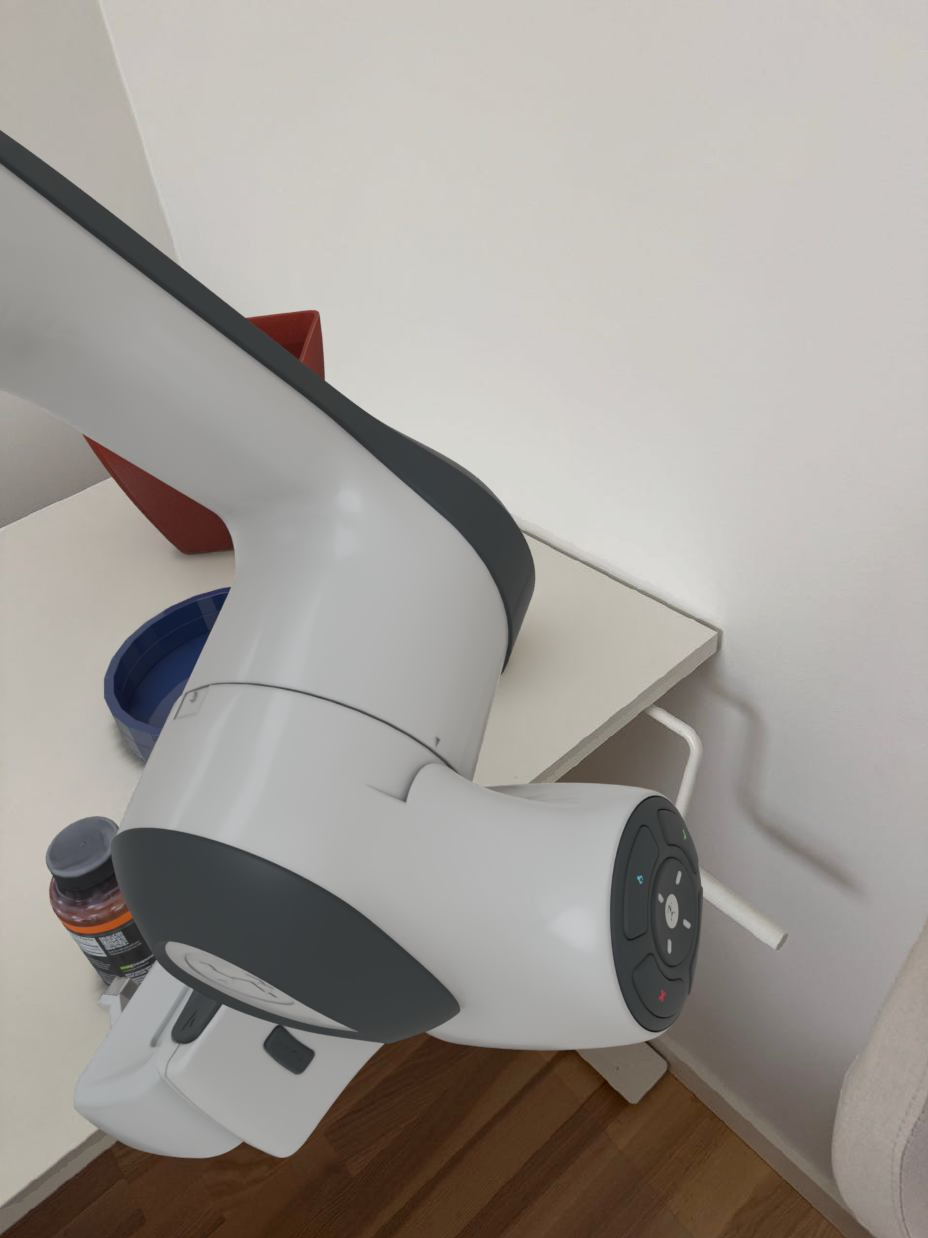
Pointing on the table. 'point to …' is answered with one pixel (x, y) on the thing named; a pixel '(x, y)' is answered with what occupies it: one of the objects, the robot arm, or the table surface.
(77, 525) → the table surface
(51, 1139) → the table surface
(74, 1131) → the table surface
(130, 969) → the supplement bottle
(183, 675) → the bowl
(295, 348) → the flower pot
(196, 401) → the robot arm
